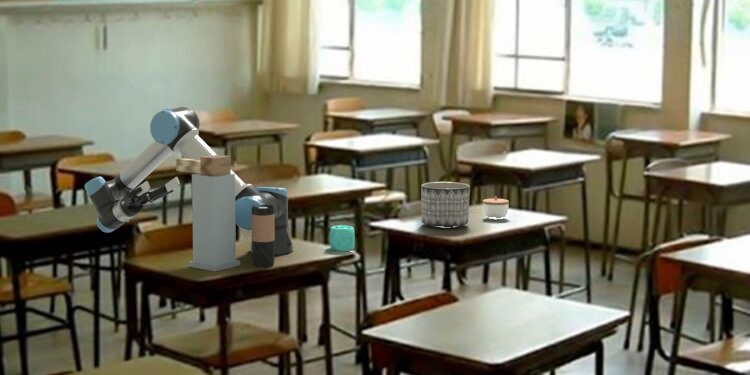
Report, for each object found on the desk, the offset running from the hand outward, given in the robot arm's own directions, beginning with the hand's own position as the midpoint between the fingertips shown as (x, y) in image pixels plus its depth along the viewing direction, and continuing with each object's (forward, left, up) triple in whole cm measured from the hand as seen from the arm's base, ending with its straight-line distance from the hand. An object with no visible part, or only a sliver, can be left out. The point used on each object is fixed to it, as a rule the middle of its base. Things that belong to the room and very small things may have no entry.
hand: (163, 182), depth 423 cm
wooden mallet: (-9, +17, +5) cm, 20 cm away
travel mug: (-28, +26, -26) cm, 46 cm away
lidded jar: (-144, -28, -26) cm, 150 cm away
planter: (-117, -20, -26) cm, 122 cm away
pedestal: (-12, +21, -26) cm, 36 cm away
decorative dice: (-62, +9, -26) cm, 68 cm away
